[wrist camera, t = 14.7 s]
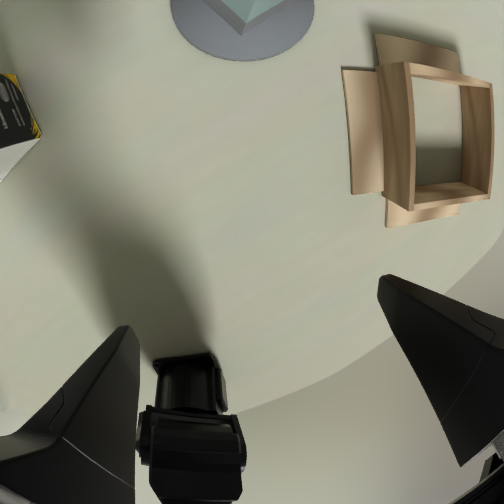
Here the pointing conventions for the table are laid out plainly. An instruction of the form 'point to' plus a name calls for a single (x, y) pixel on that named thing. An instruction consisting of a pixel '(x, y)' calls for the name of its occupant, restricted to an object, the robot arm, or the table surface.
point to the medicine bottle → (14, 124)
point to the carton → (403, 131)
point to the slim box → (246, 11)
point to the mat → (249, 44)
